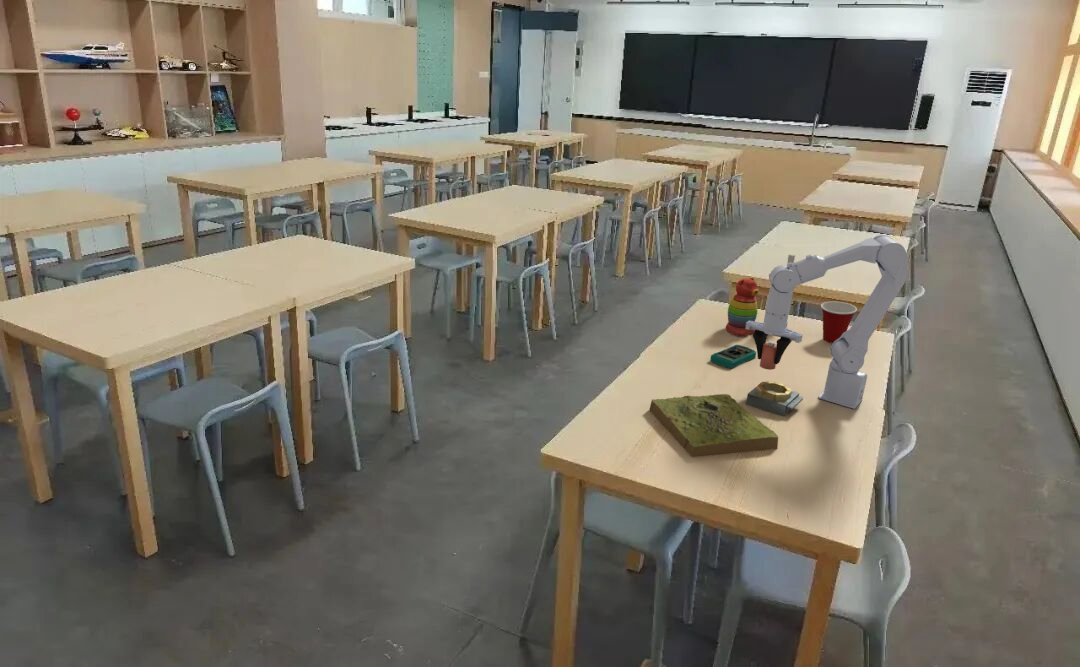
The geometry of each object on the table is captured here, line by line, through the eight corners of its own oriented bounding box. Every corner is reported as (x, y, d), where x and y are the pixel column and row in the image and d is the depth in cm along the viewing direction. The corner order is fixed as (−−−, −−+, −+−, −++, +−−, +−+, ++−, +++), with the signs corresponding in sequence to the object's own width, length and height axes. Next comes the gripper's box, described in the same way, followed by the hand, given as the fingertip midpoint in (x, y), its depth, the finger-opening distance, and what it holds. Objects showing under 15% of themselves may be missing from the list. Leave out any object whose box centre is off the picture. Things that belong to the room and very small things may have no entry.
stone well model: (802, 405, 190) (805, 389, 188) (789, 418, 182) (792, 401, 180) (760, 392, 196) (763, 376, 194) (745, 404, 188) (748, 388, 187)
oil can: (777, 366, 195) (781, 342, 192) (772, 370, 192) (776, 346, 189) (762, 362, 197) (767, 338, 194) (757, 366, 194) (761, 342, 191)
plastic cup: (807, 337, 239) (813, 302, 235) (830, 333, 244) (837, 299, 240) (833, 348, 230) (841, 313, 226) (856, 344, 235) (864, 309, 231)
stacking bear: (738, 337, 235) (747, 284, 229) (717, 327, 243) (725, 276, 237) (763, 333, 240) (772, 281, 234) (741, 323, 248) (749, 273, 242)
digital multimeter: (756, 358, 220) (758, 349, 219) (730, 370, 210) (732, 361, 209) (735, 351, 225) (736, 342, 224) (708, 362, 215) (710, 353, 214)
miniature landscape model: (691, 459, 161) (694, 439, 160) (648, 411, 182) (650, 393, 181) (777, 451, 167) (781, 431, 165) (726, 405, 188) (729, 388, 187)
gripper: (744, 308, 190) (736, 357, 195) (799, 322, 182) (789, 372, 187) (755, 303, 195) (747, 350, 200) (808, 316, 187) (799, 365, 192)
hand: (768, 360), depth 194 cm, fingers closed on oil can, 4 cm apart
